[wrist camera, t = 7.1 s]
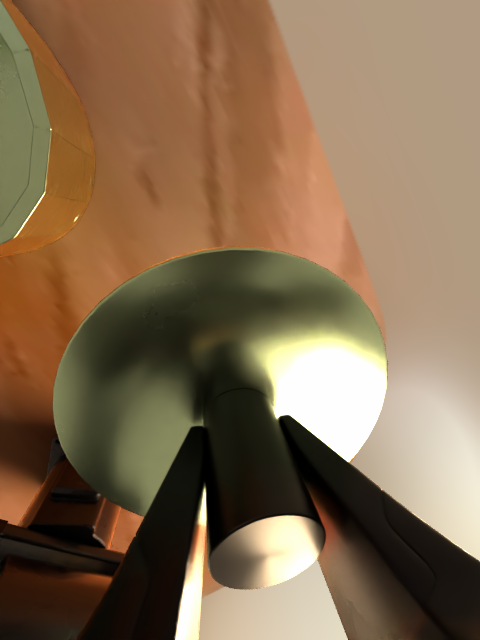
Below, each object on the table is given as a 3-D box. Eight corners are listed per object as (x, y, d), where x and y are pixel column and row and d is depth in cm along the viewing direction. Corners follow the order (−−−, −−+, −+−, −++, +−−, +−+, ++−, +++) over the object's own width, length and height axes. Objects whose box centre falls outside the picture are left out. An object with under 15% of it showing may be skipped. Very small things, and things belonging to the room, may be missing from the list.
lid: (299, 504, 13) (358, 662, 8) (51, 487, 10) (-85, 729, 5) (419, 304, 10) (631, 377, 5) (103, 180, 7) (-146, 52, 2)
